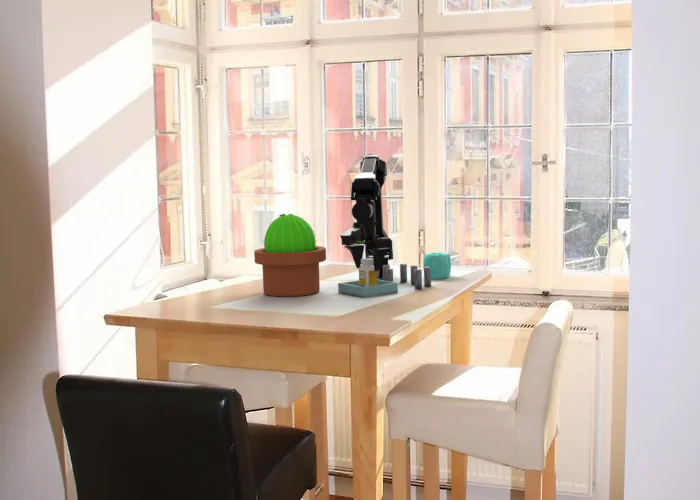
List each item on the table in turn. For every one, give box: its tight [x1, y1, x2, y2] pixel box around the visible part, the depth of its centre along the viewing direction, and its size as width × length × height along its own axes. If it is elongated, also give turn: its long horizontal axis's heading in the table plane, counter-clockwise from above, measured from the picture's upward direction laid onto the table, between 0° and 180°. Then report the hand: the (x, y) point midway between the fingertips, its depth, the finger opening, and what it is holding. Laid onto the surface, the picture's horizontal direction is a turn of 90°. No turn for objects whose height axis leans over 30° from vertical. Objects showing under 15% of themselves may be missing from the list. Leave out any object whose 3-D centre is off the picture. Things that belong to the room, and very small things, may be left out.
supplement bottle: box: [358, 257, 377, 287], centre depth 271 cm, size 5×5×10 cm
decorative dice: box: [423, 252, 452, 280], centre depth 300 cm, size 8×8×8 cm
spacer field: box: [376, 263, 432, 290], centre depth 282 cm, size 18×14×6 cm
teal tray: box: [337, 279, 399, 299], centre depth 272 cm, size 13×13×3 cm
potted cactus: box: [253, 213, 327, 298], centre depth 275 cm, size 22×22×25 cm
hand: (367, 269), depth 271 cm, fingers open, 9 cm apart
